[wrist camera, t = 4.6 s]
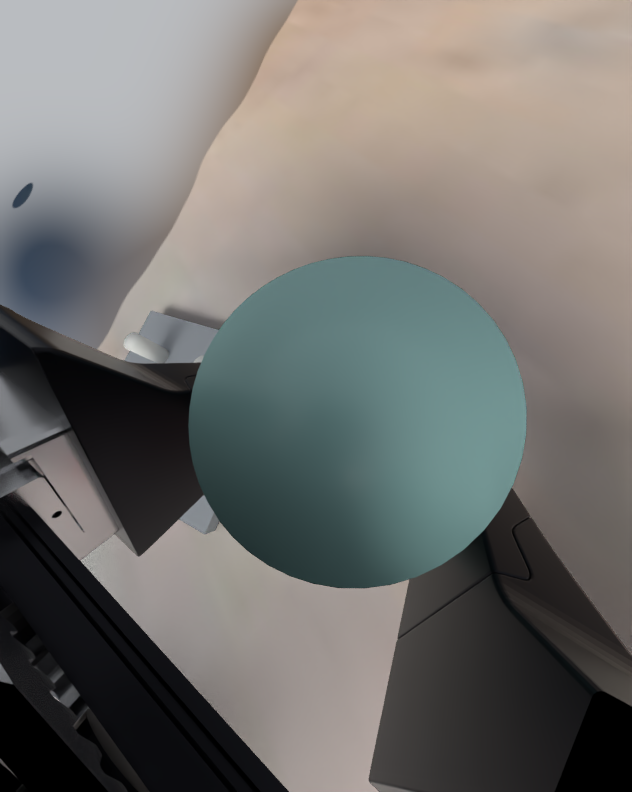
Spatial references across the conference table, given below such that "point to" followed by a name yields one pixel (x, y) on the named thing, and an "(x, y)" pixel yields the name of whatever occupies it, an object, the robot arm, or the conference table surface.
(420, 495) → the rounded cone
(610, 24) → the conference table surface
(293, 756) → the conference table surface
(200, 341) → the pin board
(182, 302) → the conference table surface
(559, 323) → the conference table surface
